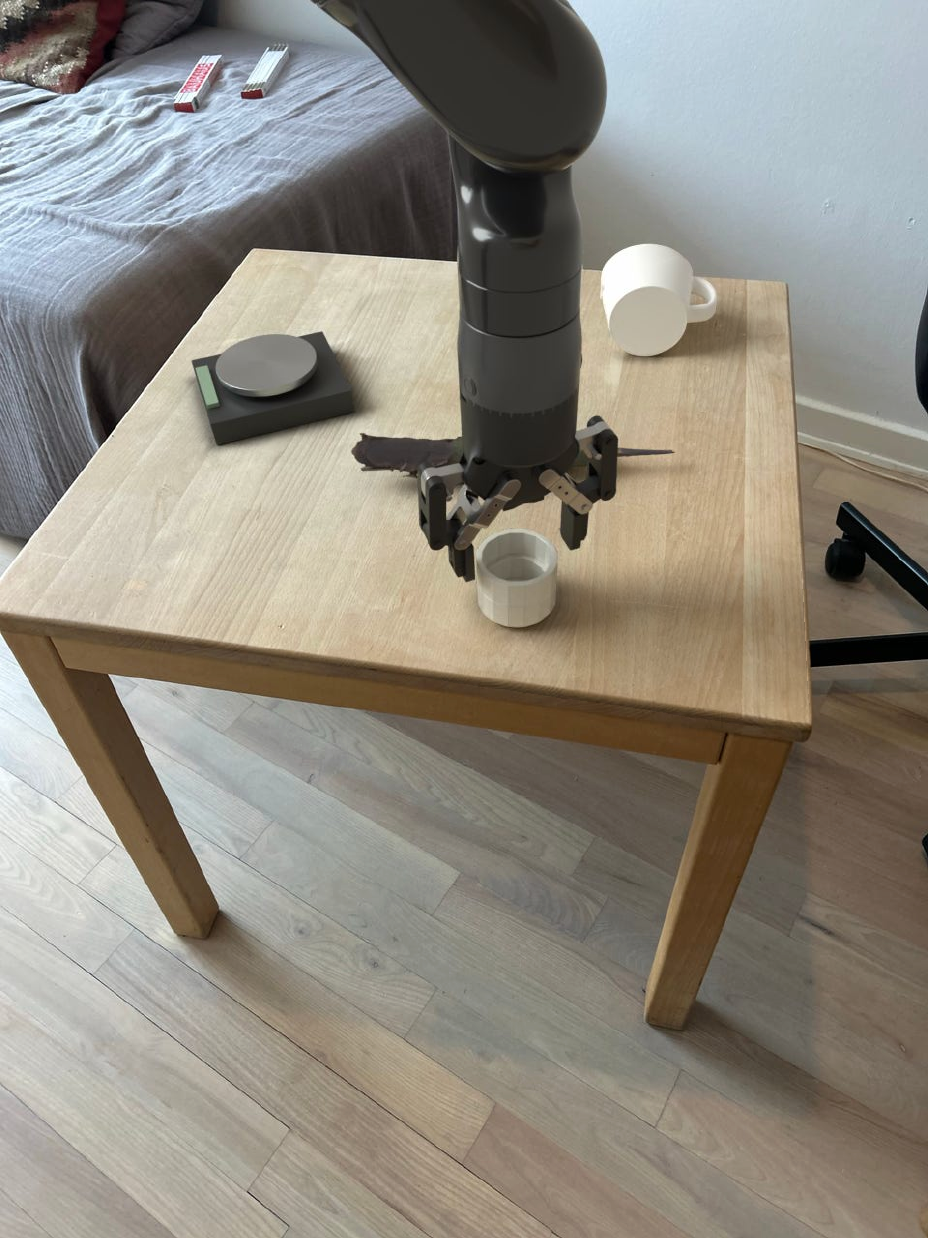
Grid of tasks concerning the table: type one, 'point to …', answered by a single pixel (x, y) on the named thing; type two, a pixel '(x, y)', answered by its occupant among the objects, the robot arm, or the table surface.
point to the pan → (266, 365)
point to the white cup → (516, 577)
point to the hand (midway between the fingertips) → (518, 558)
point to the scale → (274, 398)
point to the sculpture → (435, 453)
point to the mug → (652, 298)
